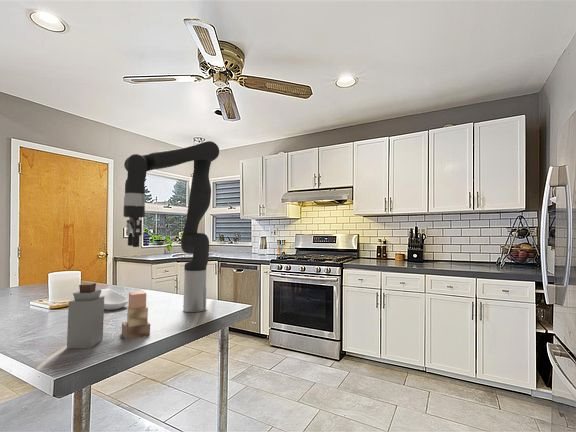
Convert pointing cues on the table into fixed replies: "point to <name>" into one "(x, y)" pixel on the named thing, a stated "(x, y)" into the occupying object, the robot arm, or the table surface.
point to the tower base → (135, 331)
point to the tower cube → (137, 316)
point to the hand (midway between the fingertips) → (133, 246)
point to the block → (137, 299)
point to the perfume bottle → (85, 317)
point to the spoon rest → (113, 299)
